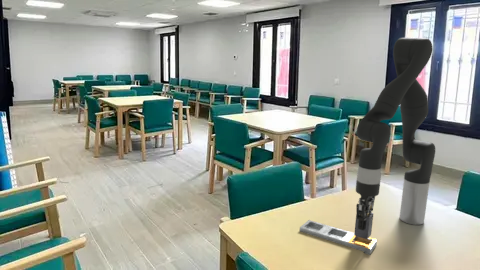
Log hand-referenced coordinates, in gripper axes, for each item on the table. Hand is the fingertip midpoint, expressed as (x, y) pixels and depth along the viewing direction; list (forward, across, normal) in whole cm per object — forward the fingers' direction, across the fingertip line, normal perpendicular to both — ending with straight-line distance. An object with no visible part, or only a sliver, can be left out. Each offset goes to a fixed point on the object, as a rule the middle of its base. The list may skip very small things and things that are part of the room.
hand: (363, 226), depth 125 cm
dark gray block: (+3, 0, 0) cm, 3 cm away
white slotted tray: (+8, 0, +9) cm, 12 cm away
